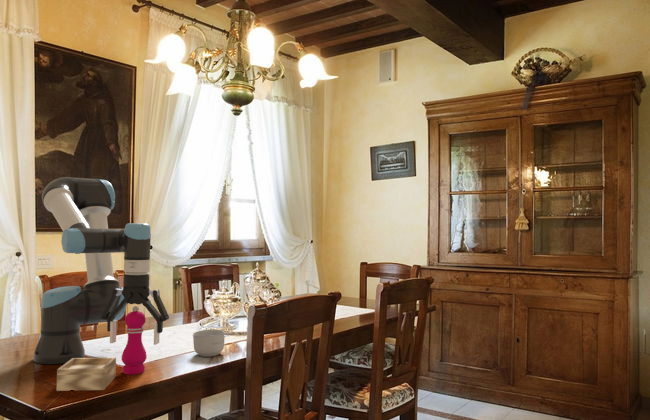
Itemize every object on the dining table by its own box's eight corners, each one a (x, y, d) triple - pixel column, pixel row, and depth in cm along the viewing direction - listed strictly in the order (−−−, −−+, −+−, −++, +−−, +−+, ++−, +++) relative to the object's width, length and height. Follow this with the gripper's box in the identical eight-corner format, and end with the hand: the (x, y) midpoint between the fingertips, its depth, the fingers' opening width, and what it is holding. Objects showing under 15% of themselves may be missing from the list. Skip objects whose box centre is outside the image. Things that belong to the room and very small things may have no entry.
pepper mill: (121, 376, 158) (123, 308, 159) (120, 369, 165) (122, 304, 165) (147, 373, 161) (149, 307, 162) (145, 367, 168) (146, 303, 168)
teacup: (216, 359, 179) (217, 335, 179) (186, 357, 181) (187, 333, 182) (232, 350, 193) (232, 328, 193) (204, 348, 195) (204, 326, 195)
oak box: (56, 390, 144) (57, 369, 144) (71, 377, 156) (72, 358, 156) (103, 389, 145) (104, 368, 145) (115, 377, 157) (116, 357, 157)
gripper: (91, 273, 161) (88, 344, 160) (172, 275, 159) (170, 347, 159) (102, 271, 168) (100, 339, 168) (180, 273, 167) (178, 341, 166)
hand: (134, 343), depth 163 cm, fingers open, 13 cm apart
